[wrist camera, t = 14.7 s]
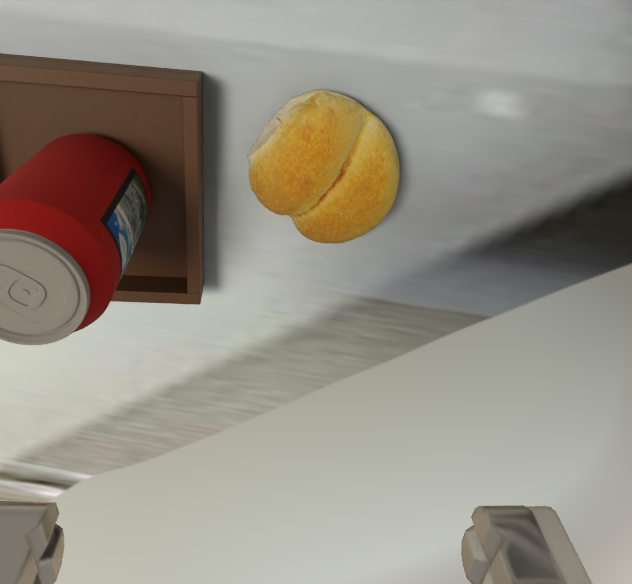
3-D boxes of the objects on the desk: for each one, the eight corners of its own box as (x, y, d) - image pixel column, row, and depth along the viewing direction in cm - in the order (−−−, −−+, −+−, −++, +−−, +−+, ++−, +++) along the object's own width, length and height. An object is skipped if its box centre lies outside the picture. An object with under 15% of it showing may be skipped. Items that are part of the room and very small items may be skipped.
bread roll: (336, 251, 37) (343, 282, 33) (228, 169, 33) (223, 194, 30) (425, 159, 34) (443, 182, 31) (317, 58, 30) (323, 72, 27)
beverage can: (118, 256, 35) (58, 382, 25) (14, 195, 32) (-101, 307, 22) (176, 177, 32) (136, 279, 22) (69, 103, 30) (-32, 181, 20)
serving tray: (-41, 49, 29) (-69, 58, 26) (202, 71, 30) (197, 81, 28) (8, 274, 36) (-10, 296, 33) (204, 282, 37) (200, 304, 35)
